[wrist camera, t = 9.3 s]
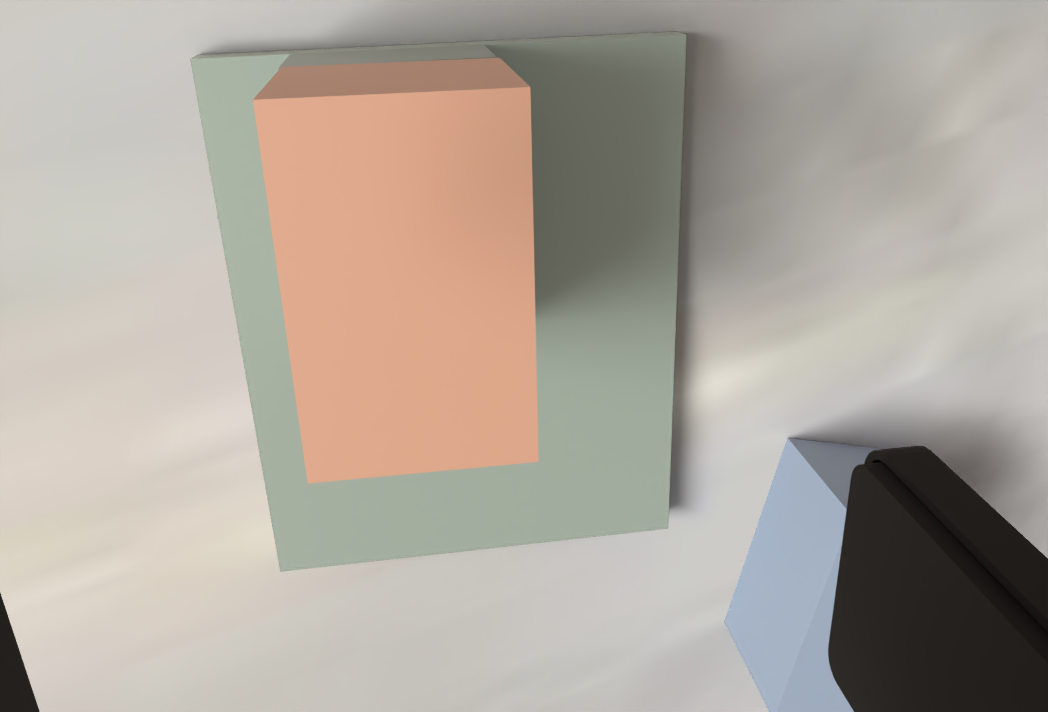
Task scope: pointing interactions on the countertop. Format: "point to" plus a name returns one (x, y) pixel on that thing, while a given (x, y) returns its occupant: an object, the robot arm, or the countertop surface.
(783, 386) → the countertop surface
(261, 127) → the terracotta brick
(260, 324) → the build plate
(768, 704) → the slate brick
